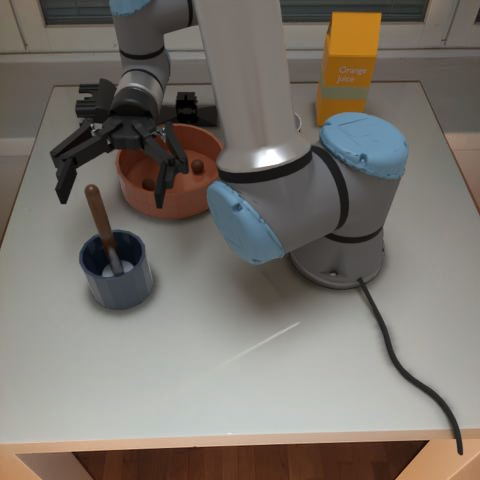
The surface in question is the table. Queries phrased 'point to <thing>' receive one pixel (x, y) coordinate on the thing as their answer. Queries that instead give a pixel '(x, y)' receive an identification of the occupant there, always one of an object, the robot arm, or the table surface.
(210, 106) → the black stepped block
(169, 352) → the table surface
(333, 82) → the orange juice
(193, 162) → the meatball
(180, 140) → the bowl
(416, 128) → the table surface
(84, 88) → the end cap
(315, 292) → the table surface
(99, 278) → the crock
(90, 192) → the ladle
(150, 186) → the meatball
